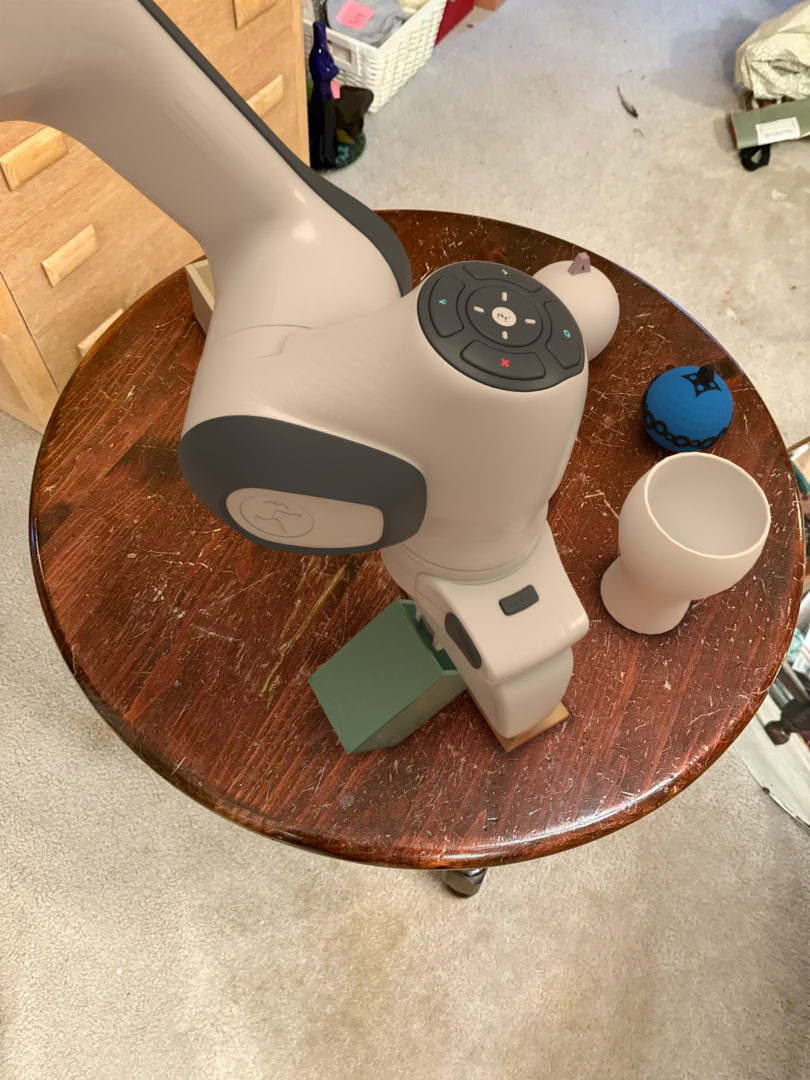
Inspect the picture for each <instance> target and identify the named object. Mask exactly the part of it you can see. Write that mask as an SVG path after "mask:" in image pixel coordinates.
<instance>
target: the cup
mask: <svg viewBox="0 0 810 1080" xmlns="http://www.w3.org/2000/svg"><path fill="white" fill-rule="evenodd" d="M771 523H772V518H771V509H770V504H769V502H768V499H767V496H766V494H765V492H764V490H763V489H762V488H761V486H760V485H759V483H758V482H757V481H756V479H754V478H753V477H752V476H751V475H750V474H749V473H748V472H747V471H746V470H745V469H743V468H742V467H740V466H739V465H737V464H735V463H733V462H732V461H731V460H729V459H726V458H723V457H720V456H718V455H715V454H712V453H705V452H699V451H695V452H688V453H683V452H678V453H676V454H673V455H670V456H666V457H665V458H663V459H662V460H660V461H658V462H657V463H655V464H654V465H653V466H652V467H651V468H650V469H649V470H648V471H647V472H645V473H644V474H643V475H642V476H641V477H639V479H638V480H637V481H636V483H635V484H634V485H633V487H632V488H631V489H630V491H629V492H628V494H627V496H626V498H625V500H624V502H623V504H622V507H621V510H620V513H619V516H618V534H617V535H618V536H617V537H618V542H617V543H618V544H617V545H618V550H619V553H620V555H619V556H618V557H616V559H615V560H613V562H612V563H611V564H610V566H608V568H607V569H606V570H605V572H604V573H603V575H602V579H601V581H600V595H601V599H602V601H603V602H602V603H603V605H604V606H605V608H606V610H607V612H608V614H610V616H611V617H612V618H613V619H614V620H615V621H616V622H617V623H619V624H620V625H622V626H623V627H625V628H626V629H628V630H631V631H632V632H633V631H634V632H636V633H638V634H644V635H660V634H663V633H666V632H669V631H671V630H673V629H674V628H675V627H677V626H678V625H679V624H680V622H681V620H682V619H683V618H684V616H685V614H686V613H687V611H688V609H689V606H690V604H691V602H692V601H697V600H703V599H706V598H708V597H711V596H714V595H716V594H718V593H722V592H723V591H727V590H728V589H730V588H732V587H733V586H734V585H735V584H737V583H738V582H740V581H741V580H742V579H743V578H744V577H745V576H746V574H748V573H749V571H750V570H751V569H752V568H753V567H754V566H755V564H756V563H757V560H758V559H759V557H760V556H761V554H762V551H763V549H764V546H765V544H766V541H767V538H768V536H769V532H770V527H771Z"/></svg>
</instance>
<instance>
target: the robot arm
mask: <svg viewBox="0 0 810 1080" xmlns="http://www.w3.org/2000/svg"><path fill="white" fill-rule="evenodd" d="M5 122H6V123H7V122H29V123H35V124H38V125H43V126H46V127H49V128H52V129H54V130H56V131H59V132H61V133H63V134H65V135H66V136H69V137H70V138H71V139H74V140H75V141H77V142H78V143H80V144H82V145H83V146H84V147H86V148H87V149H88V150H89V151H90V152H92V153H93V154H94V155H95V156H96V157H98V158H99V159H100V160H101V161H103V163H104V164H106V165H107V166H108V167H110V168H111V169H112V170H113V171H114V172H115V173H116V174H118V175H119V176H120V177H121V178H123V179H124V180H125V181H126V182H127V183H129V185H131V186H132V187H133V188H135V190H137V192H139V193H140V194H142V196H144V197H145V198H146V199H147V200H148V201H150V202H151V203H152V204H153V205H155V206H156V207H157V208H158V209H159V210H160V211H162V212H163V213H164V214H166V216H168V217H169V218H170V219H171V220H172V221H174V222H175V223H176V224H177V225H178V226H179V227H181V228H182V229H183V230H184V231H185V232H186V233H188V234H189V235H190V236H191V237H192V238H193V239H194V240H195V241H196V242H197V243H198V245H199V246H200V247H201V249H202V252H203V253H204V255H205V257H206V259H207V260H208V263H209V266H210V270H211V274H212V279H213V285H214V296H215V302H214V308H213V312H212V316H211V320H210V324H209V328H208V333H207V335H206V337H205V341H204V345H203V349H202V353H201V357H200V359H199V362H198V365H197V368H196V371H195V375H194V378H193V382H192V386H191V389H190V395H189V399H188V402H187V403H188V404H187V408H186V411H185V416H184V420H183V425H182V428H181V433H180V438H179V439H180V440H179V443H178V445H177V449H176V459H177V465H178V467H179V471H180V472H181V474H182V477H183V479H184V480H185V482H186V484H187V486H188V487H189V489H190V490H191V492H192V493H193V494H194V496H195V497H196V498H197V499H198V500H199V501H200V503H201V504H202V505H203V506H204V507H205V508H206V509H207V510H208V511H209V512H210V513H211V514H213V515H214V516H215V517H216V518H217V519H219V520H220V521H221V522H222V523H224V524H225V525H226V526H227V527H228V528H230V529H232V530H233V531H234V532H236V533H237V534H239V535H240V536H242V537H243V538H245V539H246V540H248V541H250V542H252V543H255V544H256V545H258V546H261V547H264V548H267V549H269V550H273V551H276V552H277V551H278V552H282V553H289V554H297V555H303V556H314V557H315V556H319V557H321V556H322V557H331V556H337V557H338V556H348V555H349V556H350V555H357V554H366V553H370V552H374V551H378V550H379V553H380V558H381V559H382V562H383V565H384V567H385V569H386V571H387V572H388V574H389V575H390V577H391V578H392V580H393V581H394V582H395V583H396V585H398V587H400V589H402V590H403V591H404V592H406V594H407V593H408V594H410V595H411V597H412V598H413V600H414V603H415V606H416V608H417V609H416V616H415V617H416V619H417V620H418V622H419V624H420V625H421V627H422V628H423V630H424V632H425V633H426V635H427V636H428V638H429V640H430V641H431V643H432V644H433V646H434V648H435V649H436V650H437V651H438V650H441V649H443V648H444V649H445V651H446V652H447V654H448V655H449V657H450V659H451V660H452V662H453V663H454V665H455V667H456V668H457V670H458V671H459V673H460V674H461V676H462V678H463V679H464V681H465V682H466V684H467V686H468V687H469V689H470V690H471V692H472V694H473V695H474V697H475V698H476V700H477V701H478V703H479V705H480V706H481V708H482V709H483V711H484V713H485V714H486V716H487V717H488V719H489V721H490V722H491V724H492V726H493V727H494V729H495V730H496V731H497V732H498V733H499V734H501V735H502V736H504V737H505V738H511V737H514V736H516V735H518V734H520V733H522V732H524V731H526V730H528V729H530V728H531V727H533V726H535V725H536V724H538V723H540V722H541V721H543V720H544V719H546V718H547V717H549V716H550V715H551V714H552V713H553V712H554V711H555V710H556V708H557V707H558V705H559V703H560V701H561V702H562V700H563V698H564V696H565V693H566V692H567V690H568V687H569V684H570V681H571V678H572V675H573V672H574V654H573V649H572V646H573V645H575V644H576V643H578V642H579V641H580V640H581V639H583V638H584V637H585V636H586V635H588V632H589V631H590V630H589V629H590V619H589V616H588V613H587V611H586V609H585V607H584V606H583V604H582V602H581V600H580V598H579V596H578V594H577V593H576V591H575V589H574V586H573V584H572V583H571V581H570V578H569V576H568V574H567V572H566V570H565V567H564V565H563V562H562V560H561V557H560V554H559V552H558V549H557V546H556V543H555V540H554V536H553V532H552V529H551V526H550V524H549V522H548V520H547V517H548V511H549V501H550V499H551V498H552V497H553V495H554V494H555V493H556V491H557V490H558V488H559V486H560V484H561V482H562V480H563V477H564V475H565V472H566V469H567V466H568V464H569V461H570V459H571V455H572V452H573V449H574V446H575V443H576V440H577V436H578V433H579V430H580V426H581V422H582V417H583V413H584V409H585V404H586V399H587V393H588V386H589V361H588V357H587V352H586V347H585V344H584V340H583V337H582V334H581V331H580V329H579V326H578V324H577V322H576V321H575V319H574V317H573V315H572V314H571V312H570V311H569V310H568V308H567V307H566V306H565V304H564V303H563V302H562V301H561V300H560V299H559V298H558V297H557V296H556V295H555V294H554V293H553V292H552V291H551V290H550V289H549V288H547V287H546V286H545V285H544V284H542V283H541V282H539V281H538V280H536V279H535V278H533V277H532V276H531V275H529V274H527V273H525V272H524V271H521V270H519V269H517V268H514V267H511V266H509V265H506V264H502V263H498V262H492V261H486V260H485V261H484V260H464V261H458V262H453V263H450V264H446V265H444V266H442V267H440V268H438V269H436V270H435V271H433V272H431V273H430V274H428V275H427V276H426V277H425V278H424V279H423V280H422V281H421V282H420V283H419V284H418V285H417V286H415V287H414V288H413V285H414V284H413V283H414V282H413V271H412V267H411V262H410V259H409V257H408V254H407V252H406V249H405V247H404V245H403V243H402V241H401V239H399V237H398V235H397V234H396V233H395V231H394V229H392V227H391V226H390V225H389V224H388V223H387V222H386V221H385V220H384V219H383V218H382V217H381V216H380V215H379V214H377V213H376V212H375V211H374V210H372V209H371V208H370V207H369V206H368V205H366V204H365V203H364V202H362V201H360V200H359V199H357V198H356V197H355V196H353V195H351V194H349V192H347V191H345V190H343V189H342V188H341V187H339V186H337V185H336V184H335V183H333V182H331V181H330V180H329V179H326V178H325V177H324V176H322V175H321V174H320V173H318V172H317V171H315V169H313V168H311V167H310V166H309V165H308V164H307V163H306V162H304V161H303V160H302V159H301V158H300V157H299V156H297V154H295V153H294V152H293V150H292V149H290V148H289V147H288V146H287V144H285V143H284V142H283V141H282V139H281V138H280V137H279V136H278V135H277V134H276V133H275V132H274V131H273V130H272V129H271V127H270V126H269V125H268V124H267V123H266V122H265V121H264V120H263V119H262V118H261V117H260V115H259V114H258V113H257V112H256V111H255V110H254V109H253V108H252V107H251V106H250V105H249V103H248V102H247V101H246V100H245V99H244V98H243V97H242V96H241V95H240V93H239V92H238V91H237V90H236V89H235V88H234V87H233V86H232V85H231V83H230V82H229V81H227V79H226V78H225V77H224V76H223V74H221V73H220V72H219V70H218V69H217V68H216V67H215V66H214V65H213V63H211V61H210V60H209V59H208V58H207V57H206V56H205V55H204V54H203V53H202V52H201V51H200V50H199V49H198V47H197V46H196V45H195V44H194V43H193V42H192V41H191V40H190V39H189V37H188V36H187V35H186V34H185V33H184V32H183V31H182V29H180V27H178V26H177V24H176V23H175V21H173V20H172V19H171V17H169V15H168V14H167V13H165V11H164V10H163V9H162V8H161V7H160V6H159V5H158V4H157V2H156V1H154V0H0V123H5Z"/></svg>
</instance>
